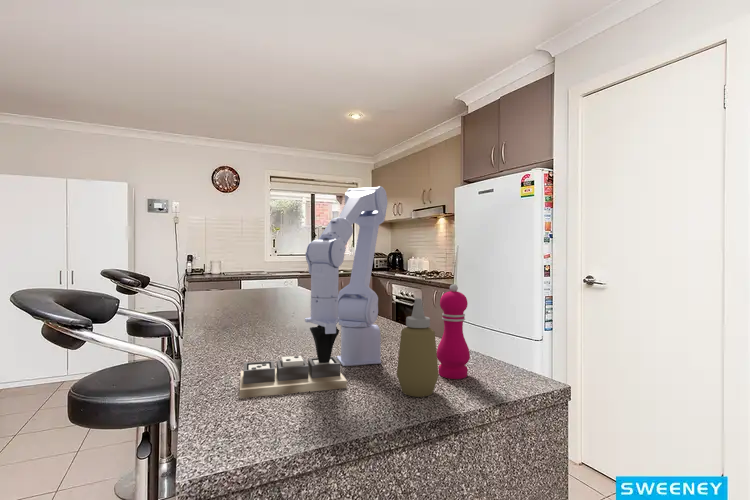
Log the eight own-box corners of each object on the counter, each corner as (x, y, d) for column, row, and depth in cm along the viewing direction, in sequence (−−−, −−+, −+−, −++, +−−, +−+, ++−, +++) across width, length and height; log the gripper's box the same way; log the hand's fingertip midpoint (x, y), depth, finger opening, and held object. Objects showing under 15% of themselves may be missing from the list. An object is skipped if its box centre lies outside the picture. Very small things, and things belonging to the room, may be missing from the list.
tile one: (331, 368, 85) (331, 358, 85) (335, 373, 81) (335, 363, 81) (312, 369, 84) (312, 359, 84) (315, 375, 80) (315, 364, 80)
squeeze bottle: (410, 403, 70) (412, 302, 71) (388, 389, 78) (389, 297, 78) (447, 396, 74) (448, 300, 74) (422, 383, 81) (423, 295, 81)
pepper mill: (433, 370, 90) (433, 282, 91) (463, 369, 91) (464, 283, 91) (440, 380, 83) (441, 285, 83) (474, 379, 84) (475, 285, 84)
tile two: (300, 365, 83) (301, 355, 83) (303, 370, 79) (303, 359, 79) (281, 366, 82) (281, 356, 82) (282, 372, 78) (283, 361, 78)
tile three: (268, 373, 81) (269, 362, 81) (269, 379, 77) (269, 368, 77) (248, 374, 80) (248, 364, 80) (248, 381, 76) (248, 369, 76)
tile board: (334, 370, 89) (334, 352, 89) (346, 388, 78) (346, 367, 78) (241, 378, 83) (241, 359, 83) (239, 398, 72) (239, 376, 72)
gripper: (301, 293, 88) (300, 354, 88) (310, 301, 75) (309, 373, 74) (332, 292, 90) (331, 352, 90) (346, 300, 77) (346, 370, 77)
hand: (323, 361), depth 83 cm, fingers closed, pressing on tile one
